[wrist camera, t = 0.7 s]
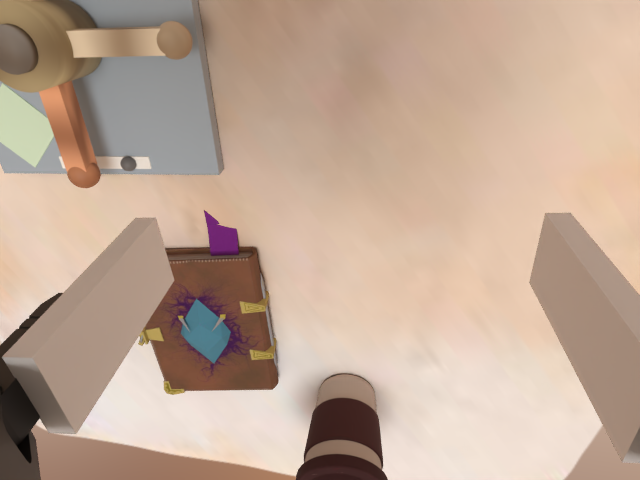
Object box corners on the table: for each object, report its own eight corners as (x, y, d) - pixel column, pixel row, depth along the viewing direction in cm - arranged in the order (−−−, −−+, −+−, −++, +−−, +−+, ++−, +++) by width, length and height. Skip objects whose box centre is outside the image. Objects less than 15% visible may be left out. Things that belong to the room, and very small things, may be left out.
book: (256, 203, 45) (247, 226, 41) (283, 370, 58) (278, 401, 54) (106, 210, 47) (82, 233, 42) (164, 372, 59) (150, 402, 55)
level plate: (-116, -138, 32) (-152, -146, 30) (173, -158, 30) (157, -169, 28) (11, 167, 45) (-7, 177, 42) (223, 168, 42) (215, 179, 40)
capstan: (-144, -140, 31) (-263, -167, 25) (175, -162, 29) (125, -199, 23) (-6, 172, 43) (-65, 202, 37) (226, 174, 41) (202, 206, 35)
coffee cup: (294, 385, 57) (272, 502, 45) (351, 353, 53) (346, 471, 41) (342, 425, 61) (335, 544, 48) (400, 397, 57) (409, 520, 44)
